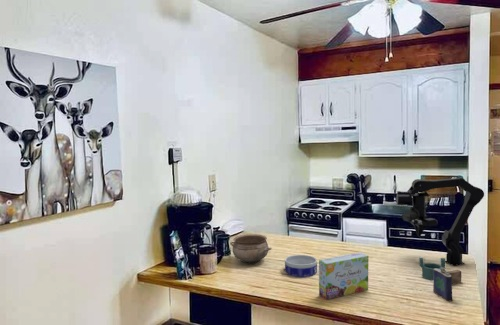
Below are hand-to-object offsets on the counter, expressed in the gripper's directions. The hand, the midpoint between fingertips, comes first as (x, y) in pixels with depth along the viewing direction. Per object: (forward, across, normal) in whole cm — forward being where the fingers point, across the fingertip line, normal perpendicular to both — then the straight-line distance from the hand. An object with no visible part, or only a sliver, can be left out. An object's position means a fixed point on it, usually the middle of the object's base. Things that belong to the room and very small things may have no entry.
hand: (418, 236), depth 189 cm
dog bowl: (+14, -11, -59) cm, 61 cm away
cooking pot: (+13, -34, -77) cm, 85 cm away
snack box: (+13, +18, -53) cm, 58 cm away
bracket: (+13, +17, -8) cm, 23 cm away
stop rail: (+13, +26, -8) cm, 31 cm away
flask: (+13, +35, -19) cm, 42 cm away
